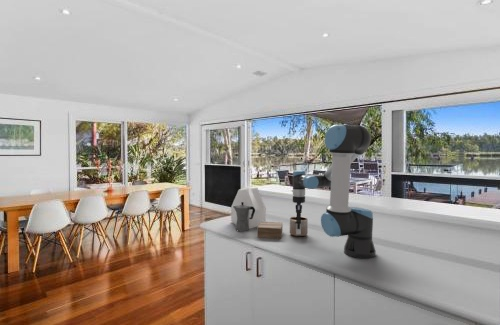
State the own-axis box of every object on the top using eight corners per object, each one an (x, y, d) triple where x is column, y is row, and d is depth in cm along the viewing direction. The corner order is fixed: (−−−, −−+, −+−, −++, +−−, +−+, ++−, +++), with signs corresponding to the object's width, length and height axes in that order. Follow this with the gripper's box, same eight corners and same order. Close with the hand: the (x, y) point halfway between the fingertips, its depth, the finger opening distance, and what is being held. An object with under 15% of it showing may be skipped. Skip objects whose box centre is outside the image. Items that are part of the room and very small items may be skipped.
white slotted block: (265, 224, 207) (265, 189, 205) (248, 228, 197) (248, 191, 195) (247, 219, 221) (247, 186, 220) (231, 222, 211) (231, 187, 210)
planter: (306, 231, 187) (306, 216, 186) (308, 236, 176) (308, 220, 176) (289, 231, 188) (289, 216, 187) (289, 236, 177) (290, 220, 177)
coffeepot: (230, 230, 192) (230, 202, 191) (236, 226, 201) (236, 200, 200) (252, 232, 187) (252, 204, 186) (257, 228, 195) (257, 201, 194)
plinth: (281, 238, 175) (281, 228, 175) (257, 237, 177) (257, 227, 177) (282, 231, 189) (282, 222, 188) (260, 230, 191) (260, 221, 191)
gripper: (293, 192, 193) (292, 226, 194) (292, 198, 170) (291, 236, 171) (304, 193, 192) (304, 226, 193) (305, 199, 169) (305, 237, 170)
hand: (298, 231), depth 182 cm, fingers closed on planter, 11 cm apart
